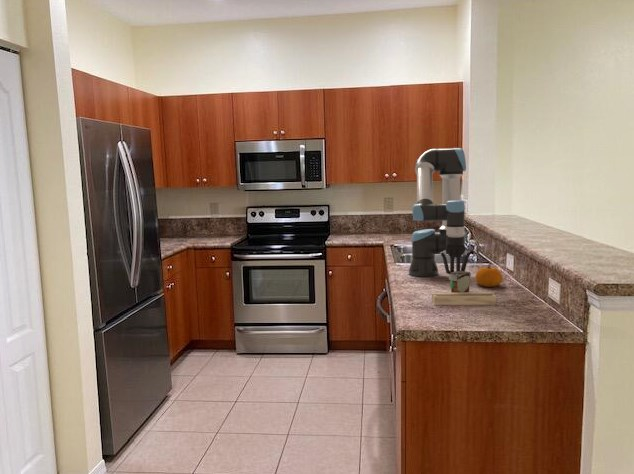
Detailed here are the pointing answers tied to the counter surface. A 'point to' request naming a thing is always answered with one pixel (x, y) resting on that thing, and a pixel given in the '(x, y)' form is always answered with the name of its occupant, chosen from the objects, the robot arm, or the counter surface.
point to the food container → (460, 281)
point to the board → (464, 298)
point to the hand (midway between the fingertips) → (455, 289)
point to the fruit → (488, 277)
